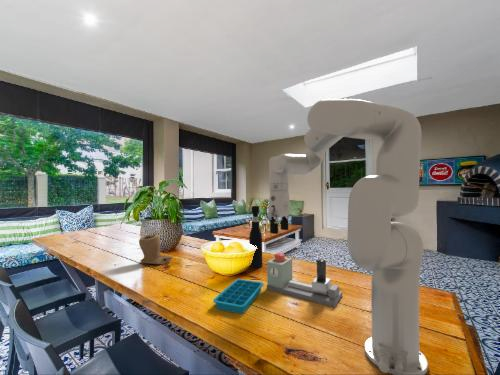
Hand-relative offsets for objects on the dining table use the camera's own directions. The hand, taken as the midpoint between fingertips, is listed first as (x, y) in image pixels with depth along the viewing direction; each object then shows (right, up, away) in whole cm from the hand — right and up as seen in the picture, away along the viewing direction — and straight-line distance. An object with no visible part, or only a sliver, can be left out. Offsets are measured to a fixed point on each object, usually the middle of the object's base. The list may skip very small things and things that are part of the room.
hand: (279, 231), depth 97 cm
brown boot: (-62, -23, +31) cm, 73 cm away
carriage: (+14, -20, -9) cm, 26 cm away
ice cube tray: (-15, -23, -10) cm, 29 cm away
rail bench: (+8, -22, -5) cm, 24 cm away
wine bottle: (-9, -22, +25) cm, 34 cm away
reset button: (0, -15, 0) cm, 15 cm away
